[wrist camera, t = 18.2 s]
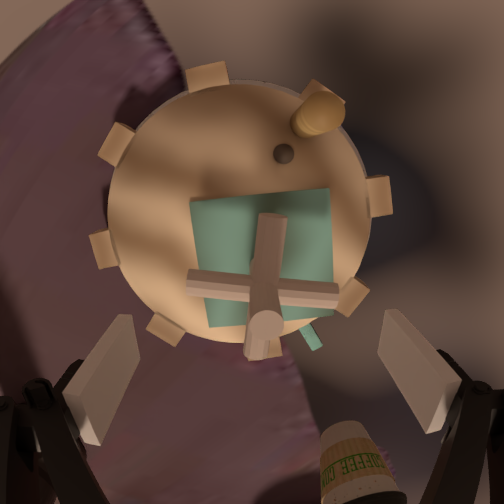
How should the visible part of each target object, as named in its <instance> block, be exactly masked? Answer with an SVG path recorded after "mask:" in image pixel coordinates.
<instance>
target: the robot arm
mask: <svg viewBox="0 0 504 504" xmlns="http://www.w3.org/2000/svg"><path fill="white" fill-rule="evenodd" d="M377 354H378V356H379V357H380V359H381V360H382V362H383V363H384V365H385V367H386V368H387V370H388V372H389V373H390V375H391V376H392V378H393V380H394V381H395V383H396V385H397V386H398V388H399V389H400V391H401V392H402V394H403V396H404V398H405V399H406V401H407V403H408V404H409V406H410V407H411V409H412V411H413V413H414V414H415V416H416V418H417V419H418V421H419V423H420V424H421V426H422V428H423V430H424V431H425V433H426V434H427V433H431V432H434V431H438V430H441V428H442V426H443V424H444V421H445V420H446V421H447V423H448V424H449V427H448V429H447V431H446V433H445V435H444V437H443V439H442V441H441V443H443V444H442V447H441V450H440V453H439V455H438V458H437V461H436V464H435V466H434V469H433V472H432V474H431V477H430V480H429V482H428V484H427V487H426V489H425V492H424V494H423V496H422V499H421V501H420V503H419V504H474V501H475V497H476V493H477V489H478V485H479V481H480V477H481V472H482V468H483V463H484V457H485V452H486V448H487V457H488V469H489V483H490V504H504V389H500V390H493V389H492V388H491V386H490V385H488V384H487V383H485V382H482V381H473V380H472V379H471V378H470V377H469V376H468V375H467V374H466V373H465V372H464V370H463V369H462V368H461V367H460V366H458V364H457V363H456V362H455V361H454V359H453V358H452V357H451V356H450V355H449V354H448V353H446V352H444V351H442V350H441V349H439V350H435V349H434V348H433V347H432V345H431V344H430V343H429V342H428V341H427V340H426V339H425V338H424V337H423V335H422V334H421V333H420V332H419V331H418V330H417V329H416V328H415V327H414V326H413V325H412V324H411V322H410V321H408V319H407V318H406V317H405V316H404V315H403V314H402V313H401V312H400V311H399V310H398V309H385V313H384V318H383V324H382V330H381V335H380V340H379V345H378V350H377ZM139 361H140V355H139V350H138V345H137V340H136V335H135V330H134V324H133V319H132V315H124V314H118V316H117V317H116V318H115V320H114V321H113V322H112V324H111V325H110V326H109V328H108V329H107V330H106V332H105V333H104V334H103V336H102V337H101V338H100V340H99V341H98V343H97V344H96V345H95V347H94V348H93V349H92V351H91V352H90V354H89V355H88V356H87V358H86V359H85V360H80V359H78V360H77V361H75V362H74V363H72V364H71V365H70V366H69V367H68V369H67V370H66V371H65V373H64V374H63V375H62V377H61V378H60V379H59V381H58V382H57V384H56V385H55V386H54V388H53V387H52V384H51V383H50V381H49V380H47V379H44V378H37V379H33V380H30V381H28V382H27V383H26V384H25V385H24V386H23V388H22V394H23V396H24V398H25V401H26V403H27V404H17V405H16V404H15V402H14V400H13V399H12V398H11V397H9V396H0V504H54V502H55V500H56V498H57V497H58V500H59V502H60V504H110V503H109V501H108V500H107V498H106V496H105V495H104V493H103V491H102V489H101V488H100V486H99V484H98V482H97V480H96V478H95V476H94V475H93V473H92V471H91V469H90V467H89V465H88V463H87V461H86V458H87V457H86V452H85V449H84V447H83V445H82V444H81V442H80V441H79V440H78V436H79V434H80V435H81V437H82V439H83V441H84V443H88V444H93V445H98V446H101V444H102V442H103V439H104V437H105V435H106V432H107V430H108V428H109V426H110V423H111V421H112V419H113V417H114V414H115V412H116V410H117V408H118V406H119V403H120V401H121V399H122V397H123V395H124V393H125V390H126V388H127V386H128V384H129V382H130V380H131V378H132V375H133V373H134V371H135V369H136V367H137V365H138V363H139Z"/></svg>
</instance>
